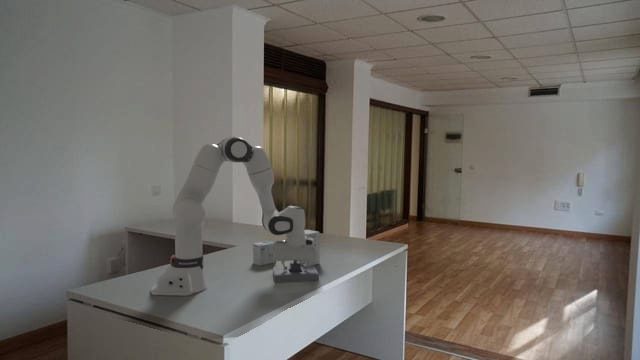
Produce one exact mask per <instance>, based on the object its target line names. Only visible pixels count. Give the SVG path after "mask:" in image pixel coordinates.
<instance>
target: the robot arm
mask: <svg viewBox="0 0 640 360" xmlns="http://www.w3.org/2000/svg"><path fill="white" fill-rule="evenodd" d="M224 162H229V163H242V164H243V165H244V166H245V168H246V172H247V176H248V178H249V180H250V183H251V185H252V186H253V189H254V190H255V192H256V194H257V196H258V201H259V204H260V207H261V210H262V217H261V224H262V226H263V227H264V229H265V230H266V231H267V232H269V233H271V234H272V235H274V236H282V235H285V240H277V241H274V242H275V243H274V244H273V249H274V260H275V261H276V262H281V264H282V267H284V270H287V267H288V266H287V265H285V263H286V262H294V260H306V264H305V265H304V269H307V265H308V264H309V260H315V259H316V258H317V250H316V247H315V245H314V244H315V241H314V239H313V238H311V237H307V236H305V232H304V230H305V226H306V215H305V210H304V209H303V207H300V206H296V205H288V206H287V207H286V208H284V209H283V210H281V211H279V210H278V209H277V208H276V204H275V201H274V197H273V194H272V187H273V185H274V183H275V175H274V169H273V167H272V164H271V161H270V159H269V156H268V155H267V152H266V150H265V149H264V148H263V147H261V146H258V145H255V146H253V145H251V144H250V143H249V142H248V141H247V140H246V139H244V138H242V137H239V136H230V137H227V138H224V139H223V140H222V141H220V142H219V143H218V144H215V143H205V144H203V145H202V147H201V148H200V150H199V151H198V153H197V155H196V156H195V158H194V161H193V164H192V165H191V168H190V169H189V170H190V171H189V173H188V175H187V177H186V180H185V183H184V184H183V186H182V187H181V190H179V193H178V194H177V197H176V199H175V200H174V203H173V205H172V208H171V209H172V214H173V216H174V217H175V219H176V231H175V237H174V238H175V239H174V246H175V248H174V249H175V254H172V255H171V256H170V266H168V267H167V268H166V269H165V270H163V271H162V272H161V273H159V275H158V277H157V281H156V284H154V285H153V286H152V287H151V289H150V294H151V295H152V296H185V297H186V296H191V295H193V294H197V293H199V292H200V293H201V292H202V291H203V290H206V289H207V287H208V286H207V283H206V279H205V274H204V267H205V265H204V264H205V260H204V259H205V258H204V254H203V234H204V233H203V232H204V226H205V225H204V224H205V219H206V212H205V208H204V206H203V203H204V202H205V200H206V198H207V197H208V195H209V193H210V192H211V191H212V188H213V187H214V184H215V181H216V178H217V177H218V174H219V171H220V168H221V166H222V165H223V164H224Z"/></svg>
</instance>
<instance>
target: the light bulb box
mask: <svg viewBox="0 0 640 360" xmlns="http://www.w3.org/2000/svg"><path fill="white" fill-rule="evenodd" d="M275 242H276V241H271V240H265V241H260V242H255V243H252V260H253V261H252V262H253V264H254V265H256V266H260V267H261V266H266V265H269V264H274V263H277V261H275V260H274V249H273V244H274V243H275Z"/></svg>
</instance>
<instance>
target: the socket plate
mask: <svg viewBox="0 0 640 360" xmlns="http://www.w3.org/2000/svg"><path fill="white" fill-rule="evenodd" d="M272 274H273V278H274V279H273V280H274V282H275V283H292V282H293V283H294V282H295V283H296V282H310V281H311V282H312V281H315V282H316V281H320V277H319V276H320V274H319V271H318V270H317V268H316V266H315V265H311V266H307V269H304V266H303V265H301V271H300V272H294V273H290V266H287V270H284V266H273V267H272Z"/></svg>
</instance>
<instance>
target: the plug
mask: <svg viewBox="0 0 640 360" xmlns="http://www.w3.org/2000/svg"><path fill="white" fill-rule="evenodd" d="M301 266H302V265H301V264H300V262H297V260H293V261H289V267H290V273H294V272H300V271H301Z"/></svg>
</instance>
